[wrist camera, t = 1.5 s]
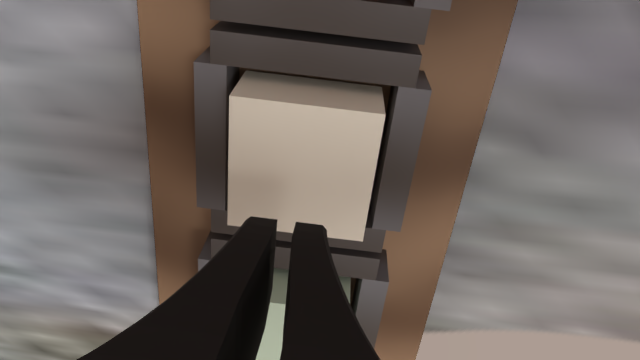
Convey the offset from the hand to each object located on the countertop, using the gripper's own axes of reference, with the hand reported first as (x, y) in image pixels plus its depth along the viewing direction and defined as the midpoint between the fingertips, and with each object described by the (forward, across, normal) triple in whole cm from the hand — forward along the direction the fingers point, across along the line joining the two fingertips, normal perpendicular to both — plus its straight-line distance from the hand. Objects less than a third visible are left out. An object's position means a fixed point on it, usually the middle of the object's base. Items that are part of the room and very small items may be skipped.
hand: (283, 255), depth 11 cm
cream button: (+6, 0, 0) cm, 6 cm away
